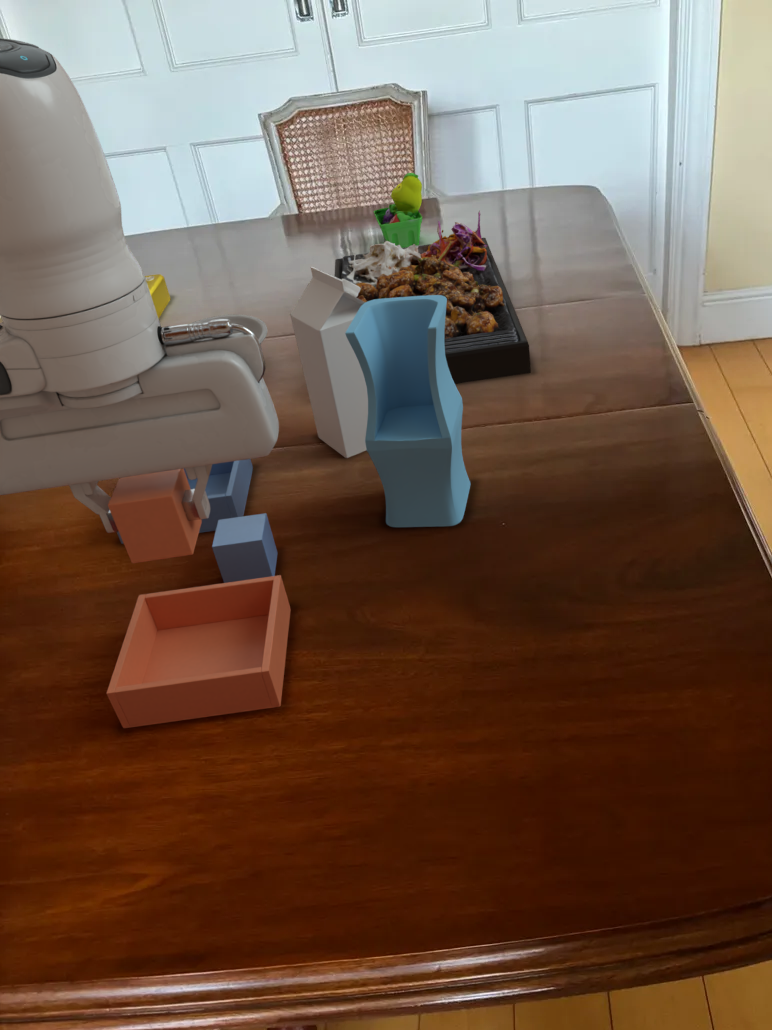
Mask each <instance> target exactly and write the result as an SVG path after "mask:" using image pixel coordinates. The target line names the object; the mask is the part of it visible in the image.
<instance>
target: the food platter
mask: <svg viewBox="0 0 772 1030" xmlns="http://www.w3.org/2000/svg"><path fill="white" fill-rule="evenodd" d="M477 214H478V218H477V220H478V221H477V227H476V230H474V231H473V230H472V229H471V228H470V227H468V226H467V225H465V224H464V223H462V222H461V223H460V222H457V221H456V222H455V221H454V225H453V226H452V228H451V231H452V233H451V234H449V235H448V236H446V235H445V236H444V235H443V233H444V229H442V227H441V221H440V220H437V227H436V228H437V229H436V230H437V231H436V233H437V235H438V238H439V239H437V240H436V241H434V242H432V243H429V244H422V245H416V246H415V244H413V245H412V246H409V247H405V248H401V246H400V245H397V246H395V243H394V244H393V243H390V242H389V241H384V242H383V243H376V244H373V245H372V244H370V246H369V252H365V253H358V254H356V253H354V254H350V255H345V256H342V258H336V259H335V261H334V275H333V276H334V277H336V278H339V279H345V280H347V281H349V282H351V283H353V284H355V285H357V286H359V287H360V288H361V289H360V292H359V293H358V296H357V297H356V298H358V299H360V300H362V301H363V302H368V301H370V300H374V299H383V298H397V297H411V296H426V295H442V296H445V297H446V298H447V305H446V316H445V330H444V345H445V356H446V361H447V365H448V368H449V371H450V374H451V376H452V379H453V381H454V383H455V385H456V384H464V383H470V382H477V381H484V380H491V379H498V378H505V377H512V376H521V375H526V374H531V373H532V370H531V369H532V368H531V355H530V344H529V341H528V338H527V337H526V333H525V332H524V328H523V326H522V323H521V322H520V319H519V316H518V314H517V312H516V310H515V306H514V304H513V302H512V300H511V298H510V295H509V292H508V289H507V287H506V284H505V283H504V280H503V278H502V275H501V272H500V270H499V268H498V265H497V263H496V261H495V260H496V259H495V257H494V255H493V253H492V251H491V249H490V246H489V243H488V240H487V238H486V237H482V234H481V210H479V211H478V213H477Z"/></svg>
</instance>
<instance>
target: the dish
mask: <svg viewBox="0 0 772 1030" xmlns="http://www.w3.org/2000/svg"><path fill="white" fill-rule="evenodd" d="M215 319H229V320H230V321H231V323H232V324H238V325H242V326H244V327H246V328H248V329H249V330H251V331H252V332H253V333H254V334H255V335H256V337H257V338H258V340H259V342H260V345H262V343H263V342H264V341H265V339H266V338H267V335H268V326H267V324H266V323H265V322H264V321H263V320H262V319H260V318H259V317H255V316H253V315H249V314H237V313H233V314H232V313H231V314H220V315H215V316H210V317H206V318H202V319H199V320H196V321H193V322H191V323H189V324H199V323H207V322H209V321H211V320H215ZM235 333H241V332H240V331H235V330H233V334H235Z"/></svg>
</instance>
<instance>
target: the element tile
mask: <svg viewBox="0 0 772 1030" xmlns="http://www.w3.org/2000/svg"><path fill="white" fill-rule="evenodd" d="M144 276H145V279H146V282H147V285H148V288H149V291H150V294H151V297H152V300H153V303H154V306H155V309H156V313H157V316H158V319H159V320H160V318H161V316H162V314H163V313H164V311H165V309H166V308H167V306H168V305H169V303H170V301H171V295H170V292H169V288H168V285H167V282H166V279H165V276H164V275H163V274H161V273H158V274H157V273H156V274H148V275H144Z"/></svg>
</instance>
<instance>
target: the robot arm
mask: <svg viewBox="0 0 772 1030" xmlns="http://www.w3.org/2000/svg"><path fill="white" fill-rule="evenodd" d="M79 93H80V92H79V91H78V89H77V87H76V86H75V84H74V83H73V81H72V79H71V78H70V76H69V74H68V73H67V71H66V69H64V66H62V64H61V63H60V61H58V59H57V58H56V57H55V56H54V54H52V53H50V52H49V51H47V50H44V49H42V48H40V47H39V46H38V45H36V44H33V43H30V42H25V41H22V40H16V39H11V38H1V37H0V318H1V320H2V322H0V496H6V495H12V494H19V493H27V492H34V491H39V490H47V489H54V488H60V487H68V486H69V489H70V491H71V493H72V496H73V498H75V499H76V500H78V502H80V503H81V504H82V505H84V506H85V507H86V508H88V509H89V510H91V511H92V512H93V513H94V514H95V515H98V516H99V518H100V520H101V523H102V524H103V527H104V529H105V531H106V533H107V534H111V533H117V532H118V529H117V526H116V524H115V521H114V519H113V517H112V514H111V512H110V509H109V507H108V503H109V501H110V499H111V496H110V495H109V494H108V493H107V492H105V490H103V489H102V488H101V487H100V486H99V485H98V484H99V482H101V481H108V480H116V479H119V478H122V477H129V476H136V475H143V474H150V473H157V472H163V471H170V470H177V469H184V468H185V470H186V473H187V476H188V478H189V479H190V480H194V479H196V478H197V479H198V480H197V483H196V487H195V489H189V490H185V493H184V497H183V499H182V502H181V503H182V506H183V509H184V511H185V512H186V517H187V520H188V521H193V520H200V519H207V518H209V514H210V503H209V500H208V497H207V494H206V491H205V489H206V485H207V482H208V479H209V475H210V471H211V468H212V464H218V463H225V462H232V461H239V460H246V459H259V458H265V457H267V456H269V455H270V454H271V452H272V451H273V449H274V447H275V445H276V444H277V442H278V438H279V434H280V433H279V432H280V421H279V418H278V414H277V411H276V407H275V405H274V402H273V400H272V396H271V394H270V392H269V389H268V386H267V384H266V382H265V380H264V375H265V372H266V361H265V357H264V353H263V349H262V346H261V345H262V344H261V345H260V342H259V340H258V338H257V337H256V335H255V334H254V333H253V332H252V331H251V330H249V329H248V328H246V327H244V326H242V325H238V324H232V323H231V321H230V320H229V319H215V320H211V321H209V322H207V323H199V324H190V323H182V324H181V323H180V324H176V325H167V326H162V325H161V321H160V318H159V319H158V316H157V313H156V309H155V306H154V303H153V300H152V297H151V294H150V291H149V288H148V285H147V282H146V279H145V276H146V275H145V273H144V270H143V268H142V266H141V265H140V263H139V261H138V260H137V258H136V257H135V255H134V253H133V252H132V250H131V248H130V246H129V244H128V242H127V239H126V236H125V233H124V228H123V227H124V226H123V217H122V204H121V200H120V197H119V193H118V190H117V188H116V184H115V181H114V178H113V175H112V172H111V169H110V166H109V163H108V160H107V158H106V155H105V153H104V149H103V147H102V144H101V141H100V138H99V136H98V133H97V132H96V128H95V126H94V124H93V120H92V119H91V116H90V114H89V112H88V110H87V108H86V105H85V103H84V101H83V99H82V97H81V95H80V94H79ZM233 330H235V331H240V332H241V333H235V334H233Z"/></svg>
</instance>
